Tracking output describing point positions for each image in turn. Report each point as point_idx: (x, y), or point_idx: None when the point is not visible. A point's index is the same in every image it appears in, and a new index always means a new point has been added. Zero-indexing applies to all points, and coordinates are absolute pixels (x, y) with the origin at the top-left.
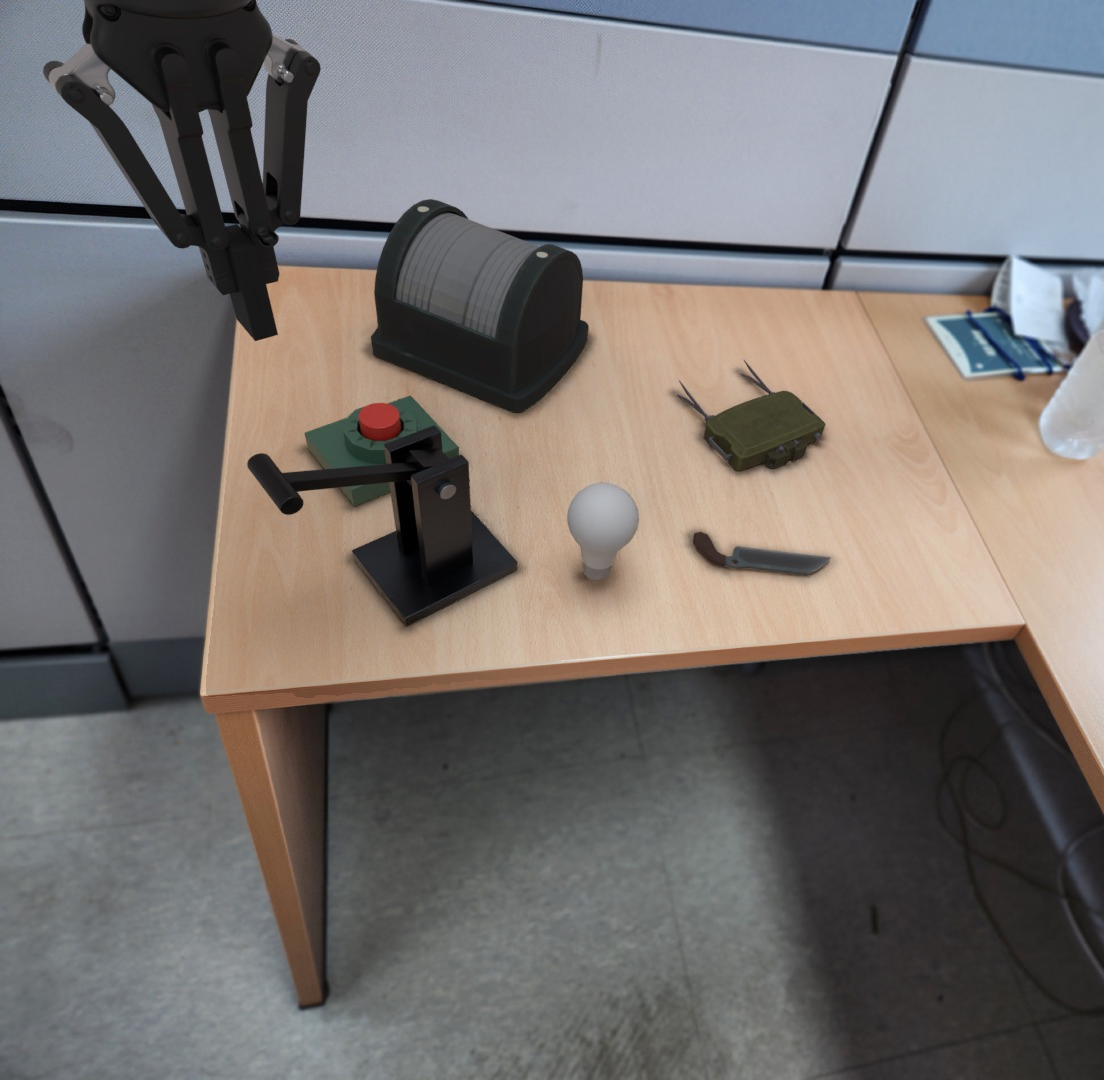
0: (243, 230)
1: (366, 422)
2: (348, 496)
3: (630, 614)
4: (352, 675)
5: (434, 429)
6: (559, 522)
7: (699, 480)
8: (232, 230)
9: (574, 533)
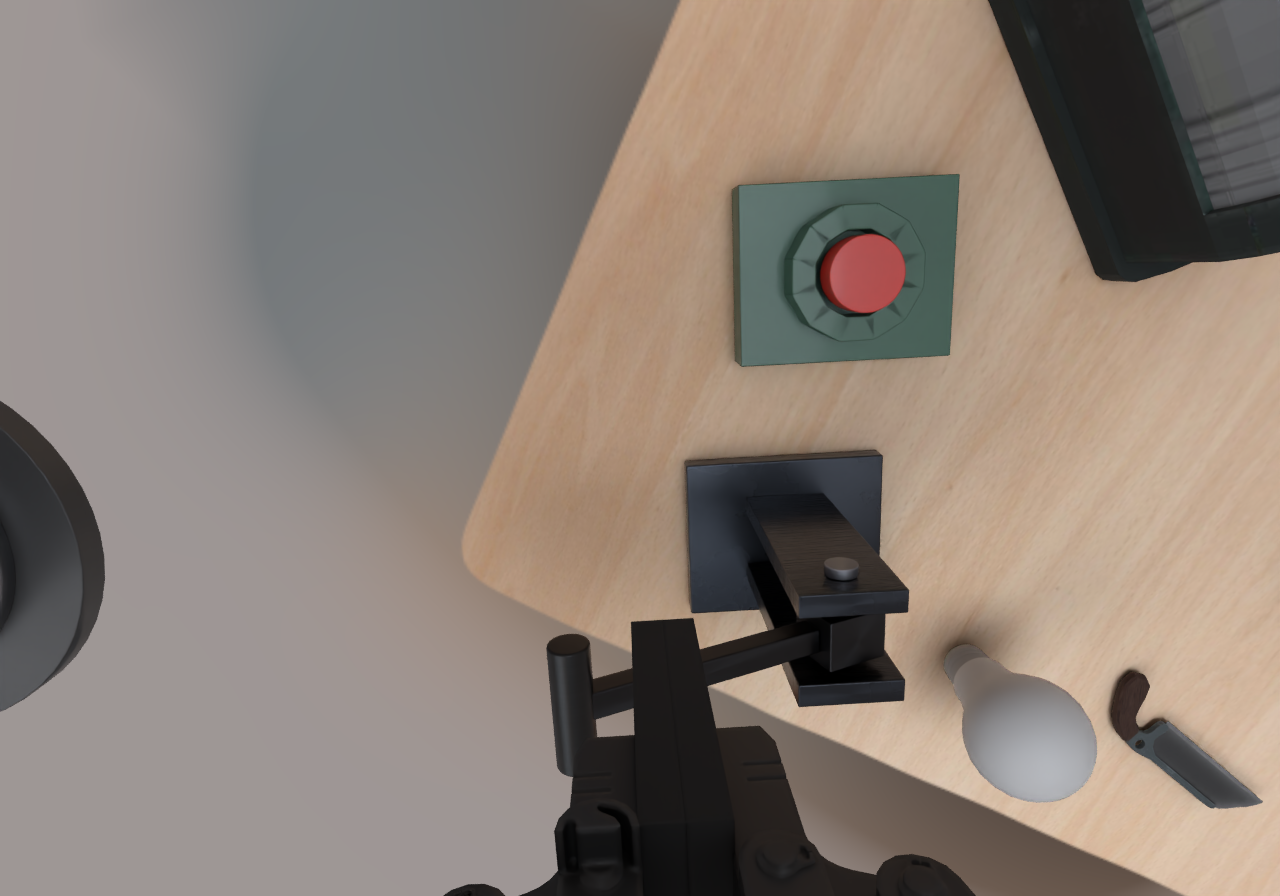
0: (734, 879)
1: (837, 283)
2: (736, 344)
3: (950, 730)
4: (597, 635)
5: (901, 602)
6: (982, 545)
7: (1235, 579)
8: (701, 850)
9: (967, 740)
